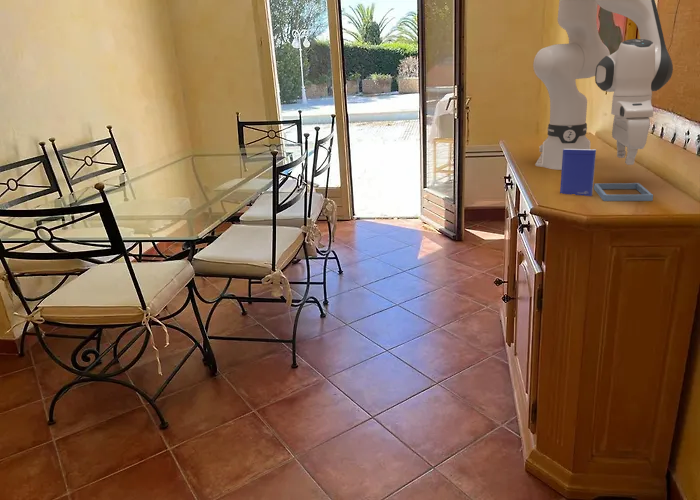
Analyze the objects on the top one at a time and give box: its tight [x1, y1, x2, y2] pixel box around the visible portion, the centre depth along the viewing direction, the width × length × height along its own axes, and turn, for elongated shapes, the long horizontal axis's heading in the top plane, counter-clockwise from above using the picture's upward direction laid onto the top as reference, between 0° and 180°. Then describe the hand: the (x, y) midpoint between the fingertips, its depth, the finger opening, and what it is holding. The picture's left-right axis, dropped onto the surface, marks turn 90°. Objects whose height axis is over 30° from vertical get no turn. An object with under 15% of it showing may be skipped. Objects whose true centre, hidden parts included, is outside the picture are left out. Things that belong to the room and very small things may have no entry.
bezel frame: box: [593, 182, 654, 202], centre depth 146 cm, size 14×12×2 cm
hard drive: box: [559, 148, 597, 197], centre depth 147 cm, size 2×8×12 cm, turn 61°
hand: (625, 160), depth 144 cm, fingers open, 8 cm apart
